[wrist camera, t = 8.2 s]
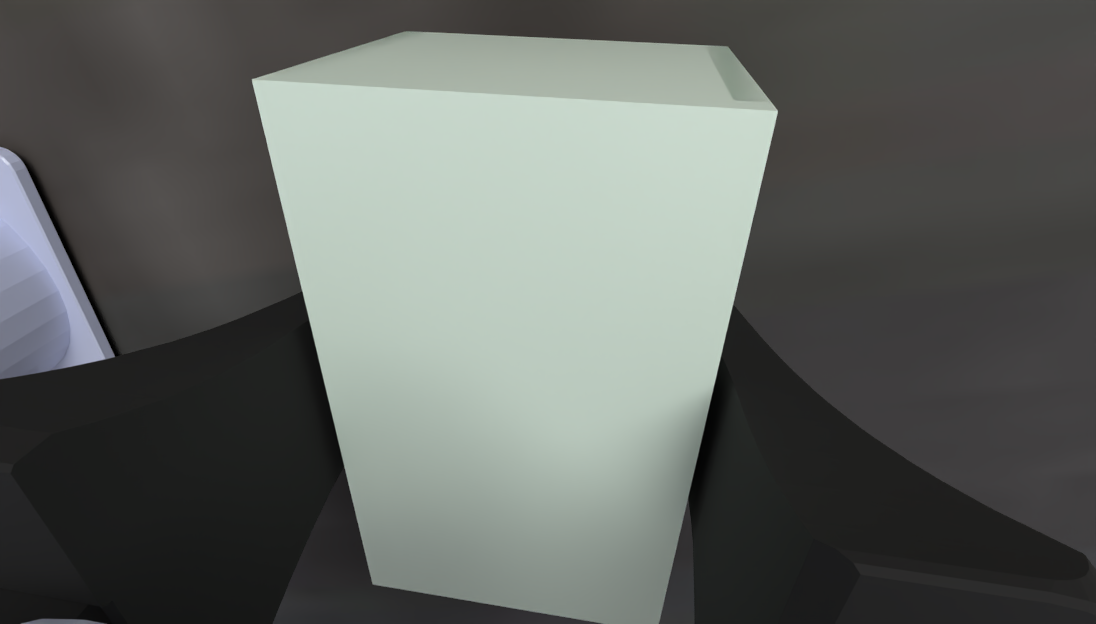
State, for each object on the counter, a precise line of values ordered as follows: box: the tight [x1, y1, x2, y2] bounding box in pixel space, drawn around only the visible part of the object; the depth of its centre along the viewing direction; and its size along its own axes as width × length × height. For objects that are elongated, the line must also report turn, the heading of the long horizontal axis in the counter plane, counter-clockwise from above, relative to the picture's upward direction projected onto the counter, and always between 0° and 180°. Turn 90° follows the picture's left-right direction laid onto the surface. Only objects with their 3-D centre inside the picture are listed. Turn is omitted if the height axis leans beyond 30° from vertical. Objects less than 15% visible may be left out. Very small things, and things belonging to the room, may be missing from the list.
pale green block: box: [252, 31, 778, 624], centre depth 11 cm, size 6×10×5 cm, turn 179°
